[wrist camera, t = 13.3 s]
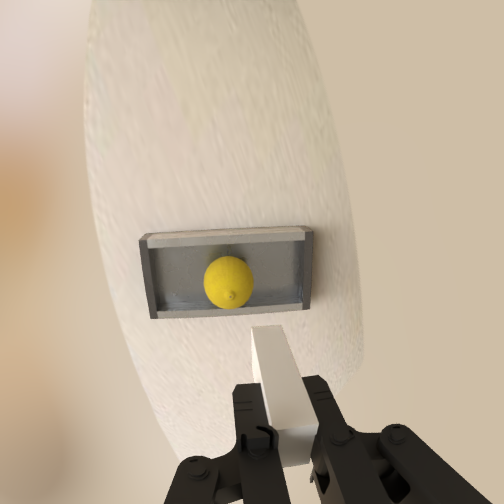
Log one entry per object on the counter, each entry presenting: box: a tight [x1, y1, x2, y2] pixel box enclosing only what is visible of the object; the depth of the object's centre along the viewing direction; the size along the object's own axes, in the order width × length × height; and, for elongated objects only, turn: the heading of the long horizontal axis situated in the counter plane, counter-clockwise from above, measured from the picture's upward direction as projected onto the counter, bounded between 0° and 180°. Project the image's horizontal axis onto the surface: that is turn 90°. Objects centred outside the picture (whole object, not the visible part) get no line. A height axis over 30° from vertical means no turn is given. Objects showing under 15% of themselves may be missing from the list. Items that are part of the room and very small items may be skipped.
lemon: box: [204, 256, 254, 309], centre depth 32 cm, size 6×6×8 cm
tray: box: [139, 226, 313, 319], centre depth 35 cm, size 10×20×4 cm, turn 91°
